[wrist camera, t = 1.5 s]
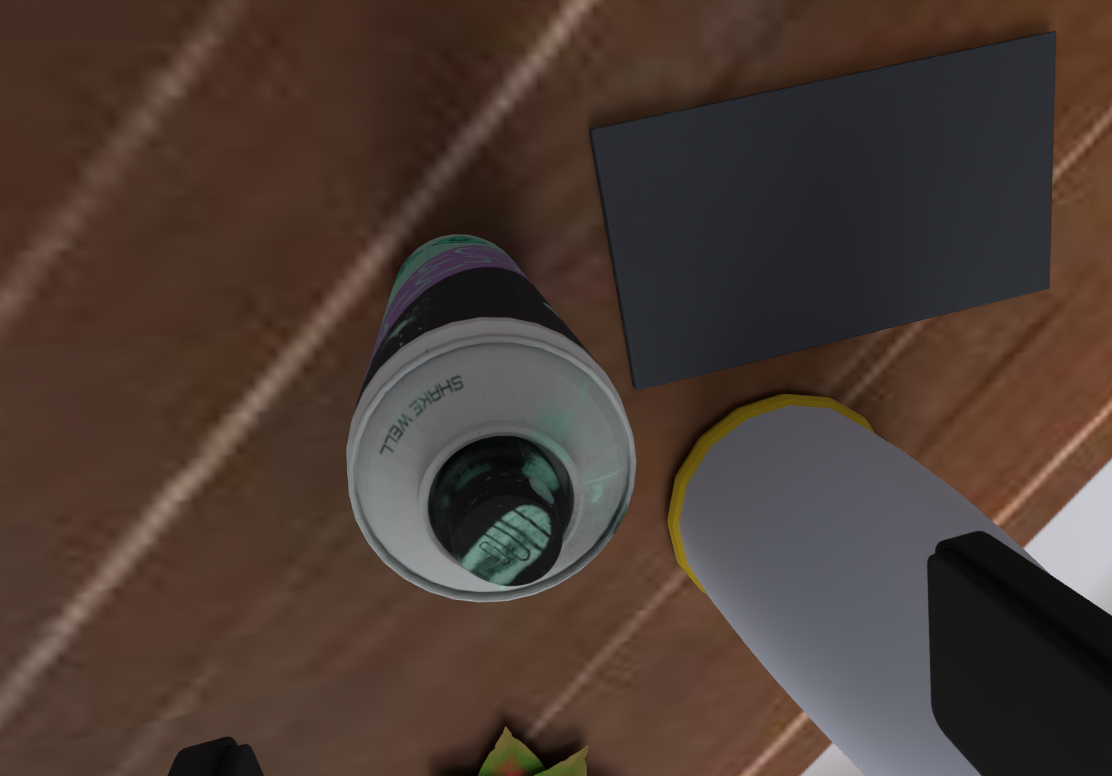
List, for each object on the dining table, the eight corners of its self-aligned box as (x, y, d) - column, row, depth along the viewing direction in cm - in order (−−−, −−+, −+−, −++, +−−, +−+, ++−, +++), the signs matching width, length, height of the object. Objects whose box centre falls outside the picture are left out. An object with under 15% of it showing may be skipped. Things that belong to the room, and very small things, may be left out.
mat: (588, 129, 29) (591, 128, 28) (1046, 32, 30) (1056, 30, 30) (633, 387, 32) (636, 391, 32) (1041, 286, 34) (1050, 288, 34)
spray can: (536, 244, 30) (719, 392, 11) (515, 372, 31) (644, 699, 12) (400, 223, 28) (338, 345, 10) (385, 357, 30) (306, 689, 11)
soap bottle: (921, 416, 35) (2095, 1025, 10) (826, 618, 38) (1576, 1485, 13) (716, 353, 32) (1643, 976, 8) (629, 576, 35) (1104, 1570, 10)
